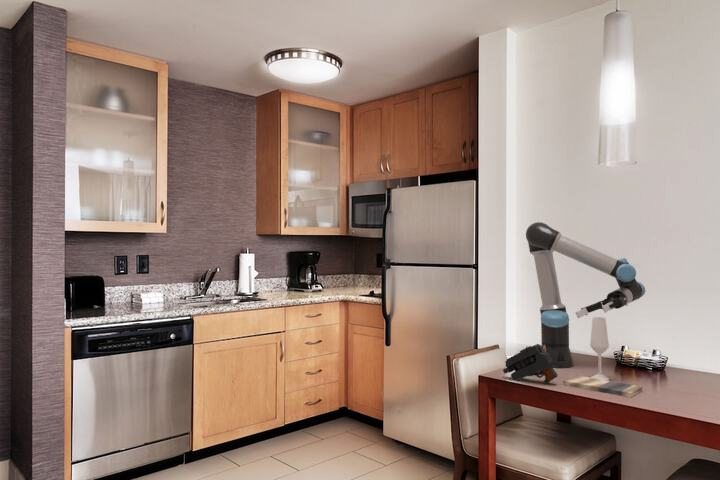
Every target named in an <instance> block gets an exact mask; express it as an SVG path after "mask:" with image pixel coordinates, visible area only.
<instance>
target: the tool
mask: <svg viewBox="0 0 720 480" xmlns="http://www.w3.org/2000/svg"><path fill="white" fill-rule="evenodd" d="M530 346H531V345H529V346H527V348H526V347H525V348H523V349H521V350H519V352H518V353H516V354H514V355H512V356H510V357H509V358H507V359H506V361H505V368H503V369H502V372H503V373H504V374H507V373H509V374H510V373H511V372H512V373H511V374H510V377H511V378H512V380H513V381H515V380H516V381H518V380H520V379H523V378H526V377H529V376H528V375H531V374H533V373H535V374H536V375H535V376H536V377H537V378H542V377H544V380H542V382H543V383H544V385H547V384H549V383H550V382H551V381H554V379H557V377H558V376H559V375H558V373H557V372H556V370H555V369H554V367H552V366H551V365H553V360H552V358H551V356H550V354H549V353H548V352H545V351H542V350H543V349H542V344H539V343H536V344H535V345H532V346H531V347H530ZM538 371H539V372H541V374H543V373H544V375H538V374H537V372H538Z"/></svg>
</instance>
